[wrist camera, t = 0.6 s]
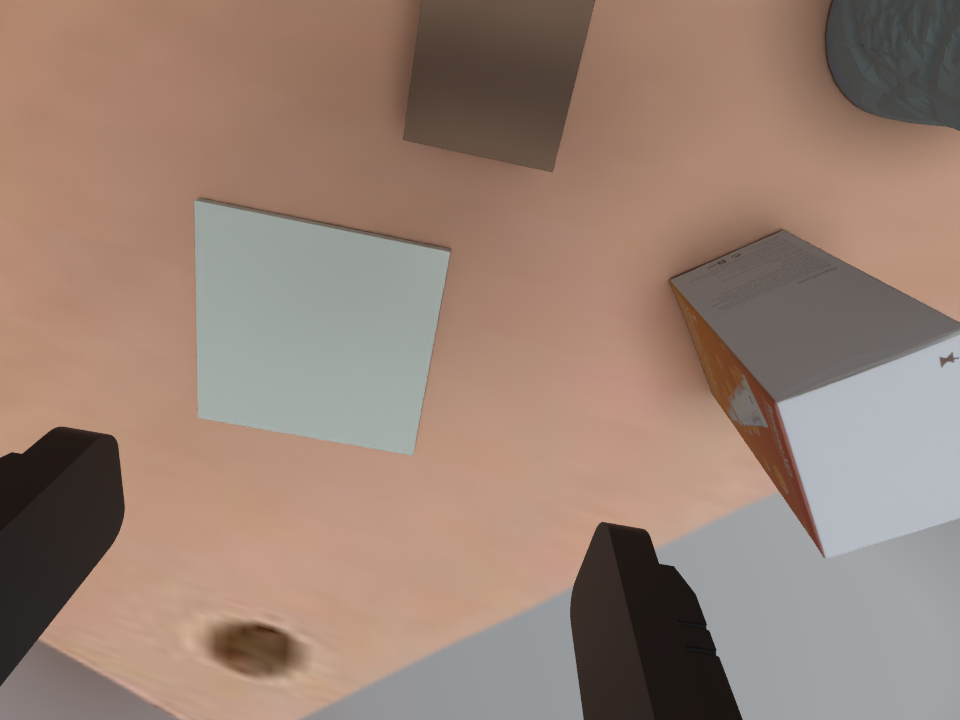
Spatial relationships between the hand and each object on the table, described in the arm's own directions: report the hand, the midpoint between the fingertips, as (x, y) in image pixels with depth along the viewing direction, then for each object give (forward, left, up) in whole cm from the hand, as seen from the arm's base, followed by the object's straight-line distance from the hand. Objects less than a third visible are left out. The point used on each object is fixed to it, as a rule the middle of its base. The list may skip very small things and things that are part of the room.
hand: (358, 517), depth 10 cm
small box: (+2, +17, -22) cm, 28 cm away
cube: (-7, +1, -22) cm, 23 cm away
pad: (+8, -6, -22) cm, 24 cm away
